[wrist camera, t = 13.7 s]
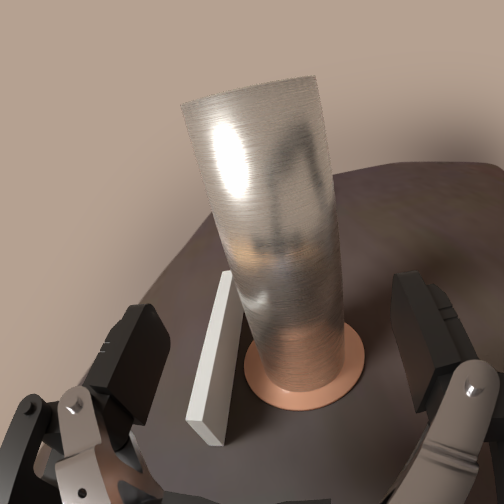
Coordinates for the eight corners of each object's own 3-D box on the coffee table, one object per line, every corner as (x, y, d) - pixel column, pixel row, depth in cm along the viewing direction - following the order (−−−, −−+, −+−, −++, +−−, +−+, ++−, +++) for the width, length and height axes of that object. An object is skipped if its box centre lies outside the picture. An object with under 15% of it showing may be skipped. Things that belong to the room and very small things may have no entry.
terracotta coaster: (331, 302, 26) (331, 299, 26) (387, 376, 18) (387, 374, 18) (233, 339, 25) (232, 336, 25) (264, 430, 17) (263, 428, 17)
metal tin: (323, 318, 24) (285, 78, 15) (359, 370, 19) (341, 72, 10) (254, 344, 23) (178, 104, 14) (278, 404, 18) (183, 104, 9)
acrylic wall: (234, 305, 28) (222, 271, 26) (244, 304, 28) (233, 270, 26) (209, 445, 17) (185, 420, 15) (223, 446, 17) (201, 420, 15)
